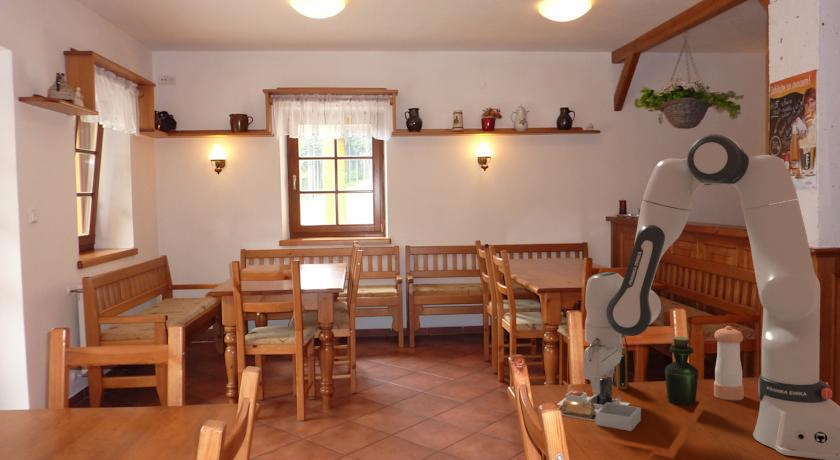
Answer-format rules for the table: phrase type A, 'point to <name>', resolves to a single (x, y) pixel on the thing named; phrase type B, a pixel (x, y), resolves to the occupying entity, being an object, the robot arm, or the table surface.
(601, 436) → the table surface
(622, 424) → the grey square open box
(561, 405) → the trough
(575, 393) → the button
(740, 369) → the pepper shaker
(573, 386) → the table surface
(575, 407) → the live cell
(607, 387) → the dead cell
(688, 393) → the potion bottle
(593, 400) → the battery tester
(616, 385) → the multimeter
